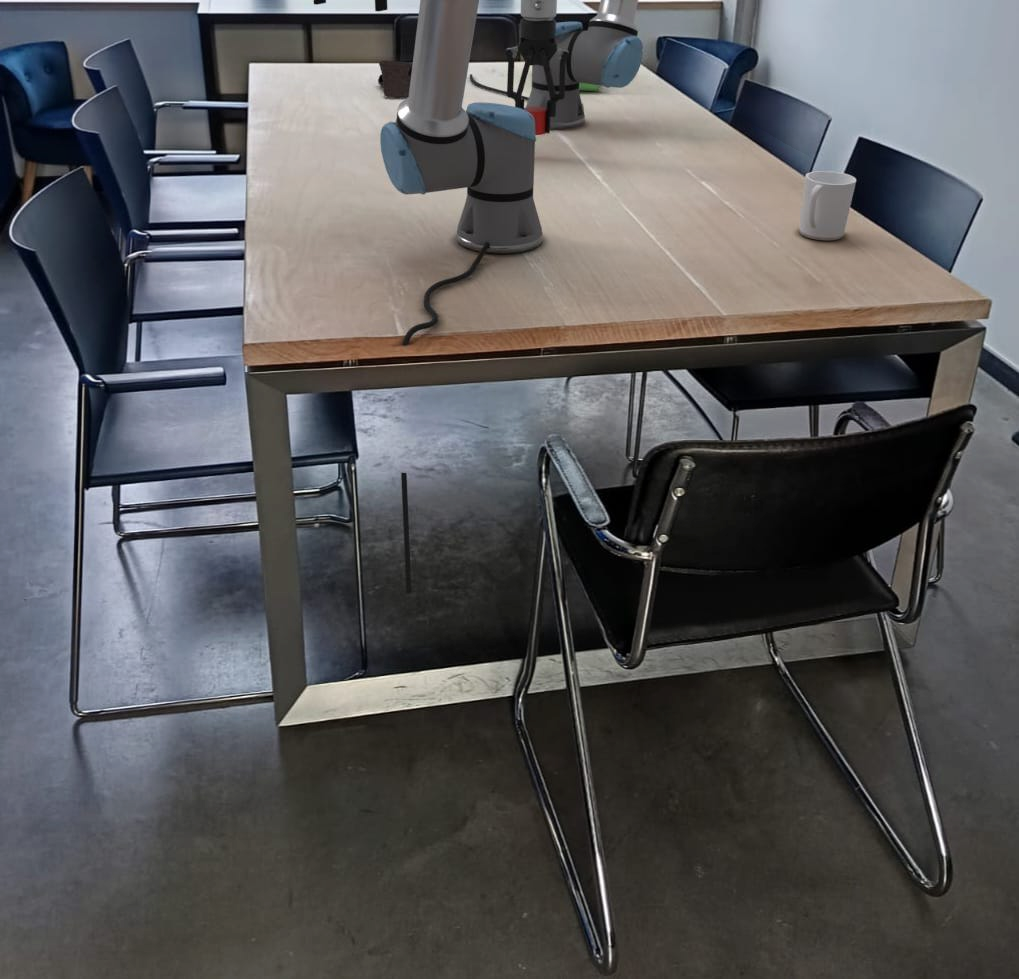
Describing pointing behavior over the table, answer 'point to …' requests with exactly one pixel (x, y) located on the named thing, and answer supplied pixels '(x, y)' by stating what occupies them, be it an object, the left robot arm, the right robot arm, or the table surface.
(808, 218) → the mug
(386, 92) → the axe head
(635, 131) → the table surface
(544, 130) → the red cylinder
